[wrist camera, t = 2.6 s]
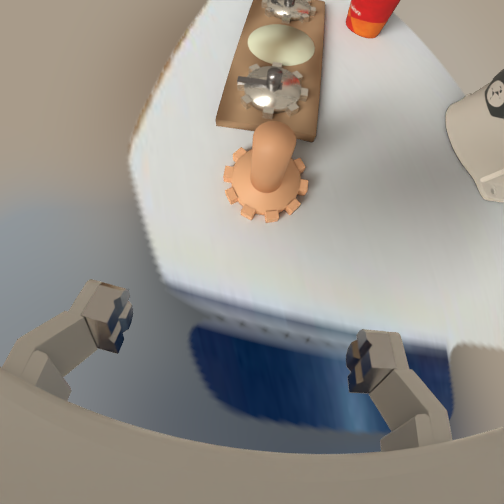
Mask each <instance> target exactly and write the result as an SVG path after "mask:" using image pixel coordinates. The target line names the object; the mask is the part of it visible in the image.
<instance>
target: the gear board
mask: <svg viewBox="0 0 504 504" xmlns="http://www.w3.org/2000/svg"><path fill="white" fill-rule="evenodd" d="M261 6H262V0H253V2H252V5H251V8H250V11H249V13H248V16H247V19H246V22H245V25H244V28H243V31H242V34H241V37H240V40H239V43H238V46H237V49H236V52H235V55H234V58H233V61H232V64H231V68H230V71H229V74H228V77H227V81H226V84H225V87H224V91H223V94H222V98H221V101H220V105H219V108H218V112H217V115H216V126H222V127H229V128H236V129H243V130H250V131H255V130H256V128H257V127H258V126H259V125H261V124H263V123H265V122H268V121H278V122H282V123H284V124H286V125H288V126H289V127H290V128H291V129H292V130H293V132H294V133H295V136H296V139H300V140H304V141H309V142H313V141H314V139H315V137H316V129H317V119H318V108H319V96H320V84H321V70H322V55H323V37H324V15H325V2H324V1H319V0H311V4H310V6H311V7H316V11H315V15H314V16H310V15H309V16H310V17H309V21H308V22H306V23H302V22H300V21H290V23H289V24H288V23H282V19H279V18H276V17H274V16H273V17H270V18H269V17H268V16H266V15H265V9H266V8H262V7H261ZM273 62H278V63H282V67H281V68H284V69H286V70H288V71H290V72H291V73H292V72H295V71H298V72H299V73H300V74H301V75H302V76H303V78H302V82H301V83H300V84H301V88H306V89H308V96H307V99H306V102H304V101H298V103H297V105H298V106H299V109H298V113H296V114H294V115H293V116H291V117H289V116H288V114H287V113H286V112H284V113H279V114H273V117H272V119H267V118H262V115H263V112H262V111H259V110H257V109H255V108H254V107H253V106H252V107H251V108H249V109H247V110H246V108H245V107H244V106H243V105H242V104H241V97H243V96H244V95H245V94H244V91H239V90H237V79H238V76H242V77H247V76H248V75H249V67H250V66H252V65H254V64H257V65H258V66H259V67H265V66H272V64H273Z"/></svg>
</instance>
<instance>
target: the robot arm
mask: <svg viewBox="0 0 504 504" xmlns="http://www.w3.org/2000/svg"><path fill="white" fill-rule="evenodd" d="M446 129H447V133H448V136H449V139H450V142H451V144H452V147H453V149H454V151H455V153H456V155H457V157H458V158H459V160H460V161H461V163H462V164H463V166H464V167H465V169H466V170H467V171H468V172H469V174H470V175H471V176H472V178H473V179H474V181H475V183H476V185H477V188H478V190H479V192H480V194H481V196H482V197H483V198H484V199H485V200H488V201H496V202H503V203H504V69H503V70H502V71H501V72H500V73H499V74H497V75H496V76H495V77H494V78H493V80H492V82H490V83H488V84H487V85H485V86H484V87H482V88H481V89H479V90H478V91H476V92H475V93H473V94H468V95H466V96H465V97H464V98H463V100H460V101H458V102H456V103H453V104H451V105H450V106H449V108H448V109H447V112H446ZM129 297H130V293H129V290H128V289H125V288H122V287H117V286H114V285H111V284H107V283H104V282H100V281H96V280H92V279H90V280H89V281H87V283H86V284H85V286H84V287H83V289H82V290H81V292H80V293H79V295H78V297H77V298H76V300H75V302H74V303H73V305H72V306H71V308H70V310H69V311H68V312H67V311H64V312H62V313H61V314H59V315H57V316H55V317H54V318H52V319H50V320H49V321H47V322H45V323H44V324H42V325H40V326H39V327H37V328H35V329H34V330H32V331H30V332H29V333H27V334H25V335H24V336H22V337H20V338H19V339H17V341H16V343H15V344H14V346H13V348H12V350H11V352H10V353H9V355H8V357H7V359H6V361H5V363H4V364H3V366H2V367H0V504H504V426H503V427H500V428H497V429H494V430H491V431H487V432H484V433H480V434H476V435H473V436H469V437H465V438H461V439H457V440H452V435H451V430H450V424H449V419H448V414H447V410H446V409H445V408H444V407H443V405H442V404H441V403H440V402H439V401H438V399H437V398H436V397H435V396H434V395H433V393H432V392H431V391H430V390H429V389H428V388H427V386H426V385H425V384H424V383H423V382H422V380H421V379H420V378H419V377H418V376H417V375H416V373H415V372H414V371H413V370H409V367H408V363H407V359H406V355H405V351H404V347H403V343H402V339H401V336H400V334H399V333H396V332H385V331H376V330H365V329H362V330H360V331H359V332H358V334H357V340H355V341H353V342H352V343H351V344H350V346H349V347H348V350H347V354H346V366H347V368H348V369H349V370H350V371H351V372H350V374H349V375H348V386H349V392H351V393H370V394H369V396H370V397H371V399H372V400H373V402H374V404H375V405H376V407H377V408H378V410H379V412H380V413H381V415H382V416H383V418H384V420H385V421H386V423H387V425H388V426H389V428H390V429H391V431H392V432H391V433H389V434H387V435H386V436H384V437H383V438H382V439H381V452H370V453H352V454H296V453H279V452H278V453H277V452H267V451H256V450H247V449H239V448H232V447H225V446H219V445H213V444H207V443H202V442H197V441H192V440H187V439H183V438H178V437H174V436H170V435H165V434H162V433H158V432H154V431H151V430H147V429H144V428H140V427H137V426H133V425H130V424H127V423H124V422H121V421H118V420H115V419H112V418H109V417H106V416H103V415H101V414H98V413H95V412H93V411H90V410H87V409H85V408H82V407H80V406H77V405H75V404H73V403H70V402H68V398H69V396H70V393H71V388H70V386H69V385H68V383H67V382H66V381H65V379H64V378H63V377H64V376H65V375H67V374H68V373H69V372H70V371H72V370H73V369H74V368H75V367H76V366H77V365H79V364H80V363H81V362H82V361H84V360H85V359H86V358H87V357H89V356H90V355H91V354H92V353H93V352H95V351H96V350H97V348H99V349H102V350H106V351H109V352H113V353H117V354H118V353H119V350H120V348H121V346H122V343H123V341H124V337H123V332H125V331H126V330H128V329H129V327H130V324H131V321H132V317H133V308H132V304H131V303H130V302H129V301H128V300H129Z"/></svg>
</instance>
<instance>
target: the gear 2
mask: <svg viewBox="0 0 504 504" xmlns="http://www.w3.org/2000/svg"><path fill="white" fill-rule="evenodd" d="M281 67H282V63H278V62H273V64H272V66H265V67H259V66H258V65H257V64H254V65H252V66H250V67H249V75H248V76H247V77H242V76H238V79H237V90H239V91H244V94H245V95H244V96H243V97H241V104H242V105H243V106H244V107H245V108H246V110H247V109H249V108H251V107H252V106H253V107H254V108H255V109H257V110H259V111H262V112H263V115H262V118H267V119H272V117H273V114H279V113H284V112H286V113H287V114H288V116H289V117H291V116H293V115H294V114H296V113H298V109H299V106H298V105H297V103H298V101H304V102H306V99H307V96H308V89H306V88H301V84H300V83H301V82H302V78H303V76H302V75H301V74H300V73H299V72H298V71H295V72H292V73H291V72H290V71H288V70H286V69H284V68H281Z"/></svg>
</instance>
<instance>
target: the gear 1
mask: <svg viewBox="0 0 504 504" xmlns="http://www.w3.org/2000/svg"><path fill="white" fill-rule="evenodd" d="M310 4H311V0H262V6H261V7H262V8H266V9H265V15H266V16H268V17H269V18H270V17H273V16H274V17H276V18H279V19H282V23H288V24H289V23H290V21H300V22H302V23H306V22H308V21H309V17H310V16H314V15H315V11H316V7H311V6H310ZM309 15H310V16H309Z"/></svg>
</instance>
